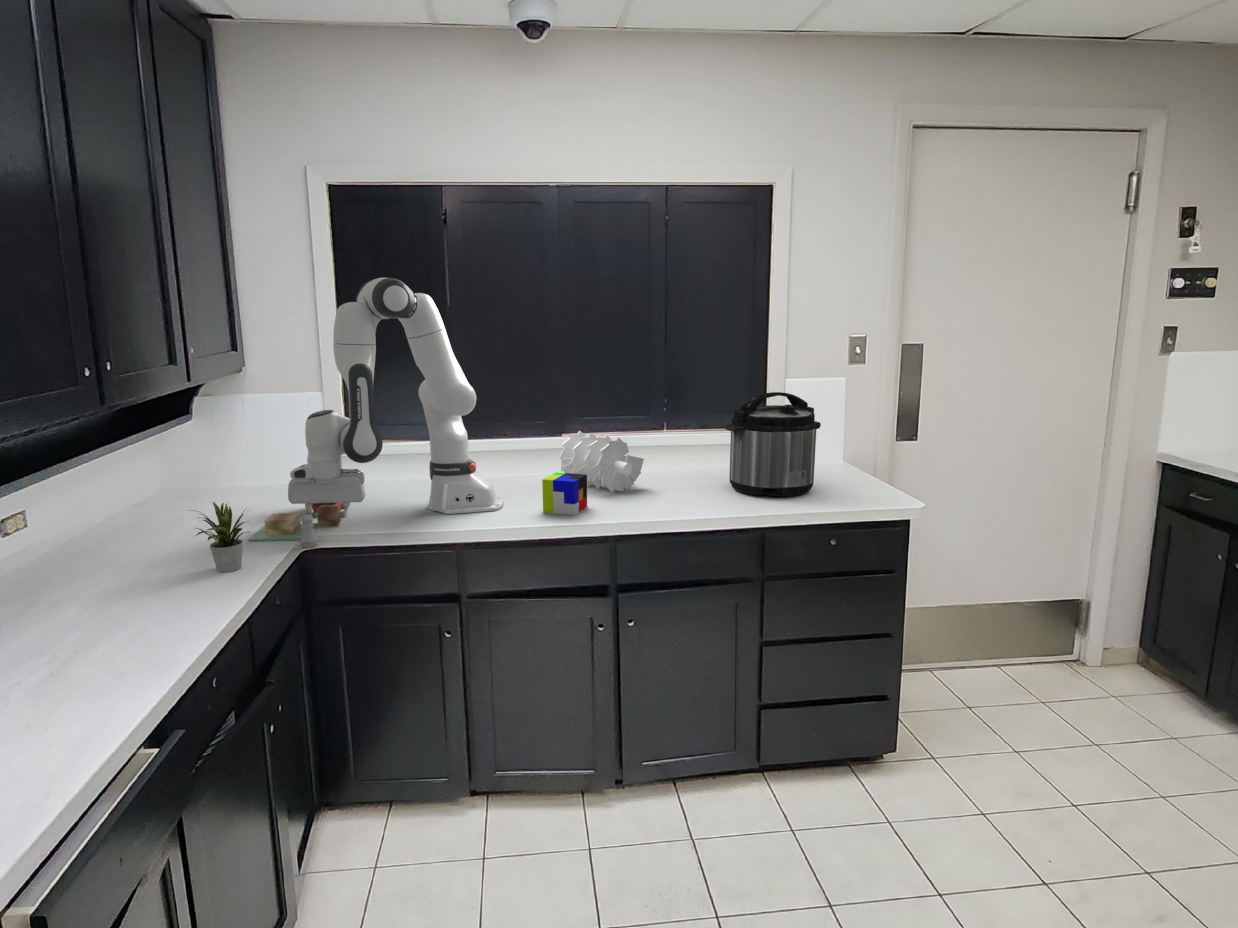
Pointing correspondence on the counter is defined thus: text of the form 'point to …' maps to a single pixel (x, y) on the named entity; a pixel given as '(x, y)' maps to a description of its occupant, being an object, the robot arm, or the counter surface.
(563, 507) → the puzzle toy
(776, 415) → the pressure cooker
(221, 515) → the house plant
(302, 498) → the robot arm
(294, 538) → the build pad
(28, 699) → the counter surface
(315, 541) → the rook chess piece
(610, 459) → the spiral staircase
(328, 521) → the walnut cube
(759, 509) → the counter surface
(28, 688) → the counter surface
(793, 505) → the counter surface
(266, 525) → the oak base block
